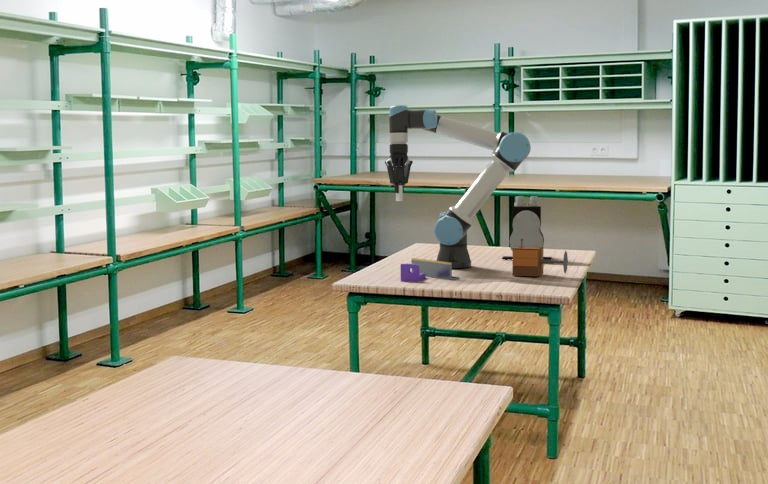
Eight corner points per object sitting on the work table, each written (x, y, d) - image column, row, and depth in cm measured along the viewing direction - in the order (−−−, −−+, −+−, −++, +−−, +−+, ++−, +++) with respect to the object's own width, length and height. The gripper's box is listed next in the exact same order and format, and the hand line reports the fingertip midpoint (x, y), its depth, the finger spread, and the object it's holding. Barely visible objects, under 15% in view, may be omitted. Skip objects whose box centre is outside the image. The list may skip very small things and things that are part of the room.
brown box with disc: (562, 277, 334) (563, 240, 333) (512, 275, 342) (512, 239, 340) (568, 274, 344) (568, 238, 342) (519, 272, 351) (519, 237, 350)
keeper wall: (421, 273, 350) (421, 257, 350) (459, 278, 331) (459, 261, 330) (411, 274, 348) (411, 258, 347) (449, 279, 328) (449, 262, 328)
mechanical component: (552, 260, 399) (553, 195, 396) (550, 264, 378) (551, 196, 376) (505, 259, 404) (505, 195, 401) (501, 264, 383) (501, 196, 381)
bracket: (418, 282, 324) (418, 264, 323) (400, 282, 326) (400, 264, 325) (425, 278, 335) (425, 261, 335) (408, 278, 337) (408, 261, 337)
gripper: (405, 144, 359) (406, 200, 361) (380, 143, 352) (381, 201, 353) (416, 143, 353) (417, 200, 355) (391, 143, 345) (391, 201, 347)
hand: (399, 201), depth 354 cm, fingers closed
